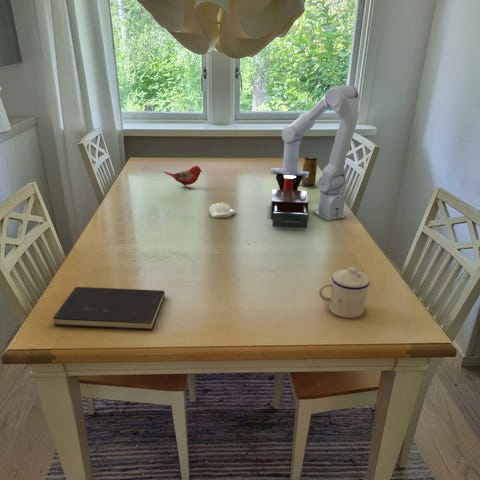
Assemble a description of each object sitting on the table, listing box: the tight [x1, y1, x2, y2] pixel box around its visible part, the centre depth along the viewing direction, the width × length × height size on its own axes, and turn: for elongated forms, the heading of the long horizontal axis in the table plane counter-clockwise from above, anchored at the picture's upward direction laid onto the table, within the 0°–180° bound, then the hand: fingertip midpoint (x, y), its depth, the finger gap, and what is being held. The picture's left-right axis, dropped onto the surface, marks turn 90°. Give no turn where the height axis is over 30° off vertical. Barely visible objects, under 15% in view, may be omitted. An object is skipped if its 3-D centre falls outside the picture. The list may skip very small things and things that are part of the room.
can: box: [282, 175, 296, 190], centre depth 190 cm, size 5×5×8 cm
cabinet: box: [270, 189, 309, 220], centre depth 180 cm, size 14×13×7 cm
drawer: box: [272, 203, 309, 229], centre depth 170 cm, size 17×12×5 cm
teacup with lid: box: [318, 266, 371, 319], centre depth 119 cm, size 12×9×12 cm
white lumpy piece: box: [208, 201, 236, 219], centre depth 178 cm, size 10×4×10 cm
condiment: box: [299, 155, 318, 189], centre depth 211 cm, size 7×8×12 cm
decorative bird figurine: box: [163, 165, 203, 190], centre depth 204 cm, size 3×18×10 cm, turn 75°
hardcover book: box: [52, 286, 166, 332], centre depth 118 cm, size 16×23×2 cm
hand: (288, 193), depth 192 cm, fingers closed on can, 5 cm apart
